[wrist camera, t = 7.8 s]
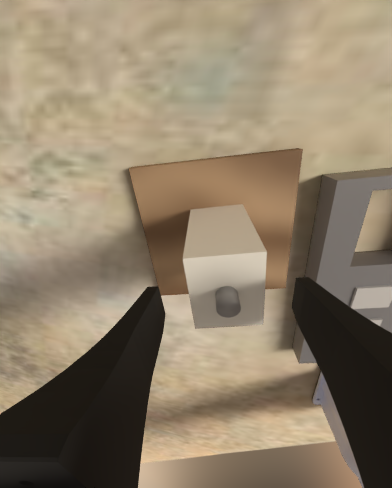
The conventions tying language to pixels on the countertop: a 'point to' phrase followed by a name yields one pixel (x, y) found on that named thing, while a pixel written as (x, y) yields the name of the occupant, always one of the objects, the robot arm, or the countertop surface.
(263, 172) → the coaster
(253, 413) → the countertop surface
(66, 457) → the robot arm
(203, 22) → the countertop surface
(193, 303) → the block
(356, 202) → the power strip
